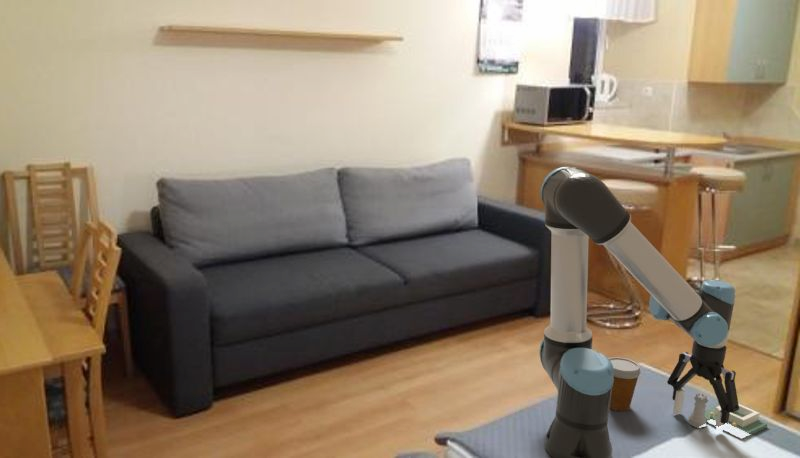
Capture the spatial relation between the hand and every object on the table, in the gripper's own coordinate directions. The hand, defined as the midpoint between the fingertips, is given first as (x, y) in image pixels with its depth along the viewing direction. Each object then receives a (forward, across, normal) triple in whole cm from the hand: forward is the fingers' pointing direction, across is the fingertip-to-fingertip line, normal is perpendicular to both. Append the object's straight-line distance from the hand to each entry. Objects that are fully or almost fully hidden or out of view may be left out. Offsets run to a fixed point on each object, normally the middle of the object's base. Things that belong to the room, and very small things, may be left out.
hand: (697, 422), depth 166 cm
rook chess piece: (+1, 0, 0) cm, 1 cm away
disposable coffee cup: (+1, +17, +10) cm, 20 cm away
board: (0, -4, -9) cm, 10 cm away
